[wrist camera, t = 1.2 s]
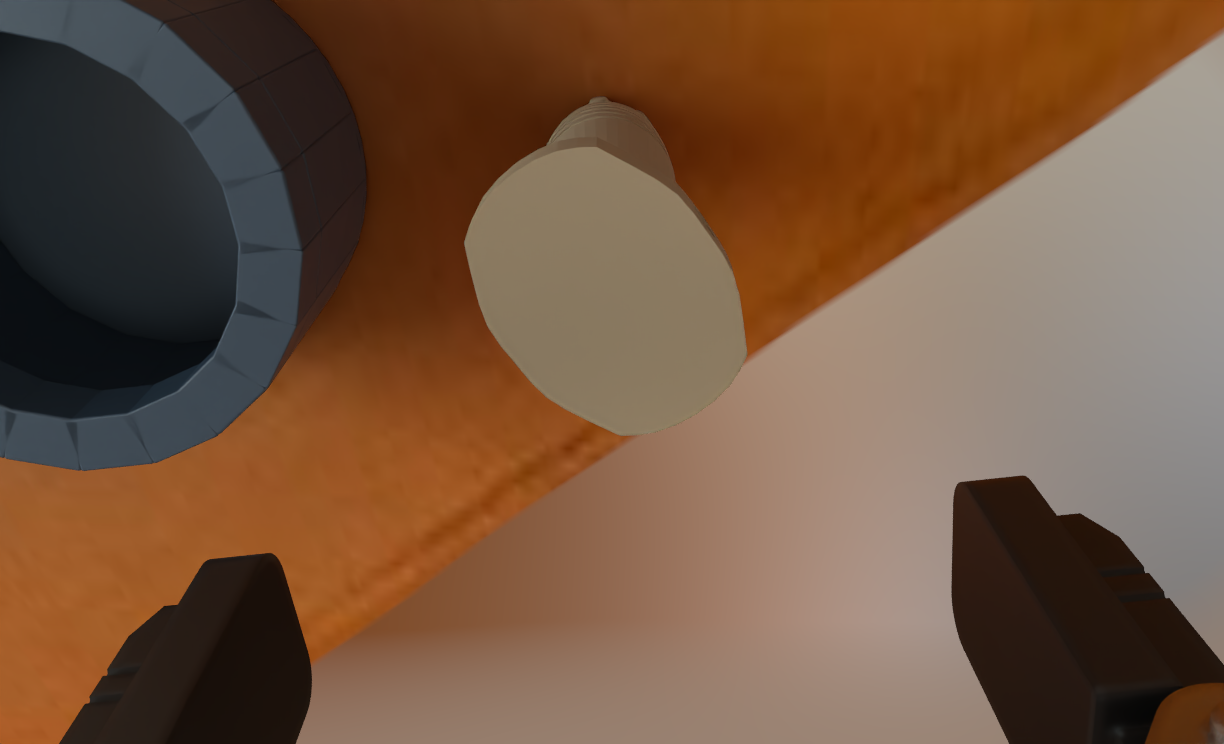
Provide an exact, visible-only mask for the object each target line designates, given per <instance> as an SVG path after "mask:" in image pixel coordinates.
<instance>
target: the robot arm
mask: <svg viewBox="0 0 1224 744" xmlns="http://www.w3.org/2000/svg"><path fill="white" fill-rule="evenodd" d="M952 546H953V547H952V606H953V613H954V618H955V624H956V628H957V632H958V635H959V639H960V641H961V644H962V646H963V649H964V651H965V653H966V655H967V657H968V659H969V661H970V663H971V665H972V667H973V670H974V671H975V674H976V676H977V678H978V680H979V681H980V684H981V686H982V688H983V690H984V692H985V694H986V696H987V698H988V701H989V702H990V704H991V706H992V709H993V711H994V713H995V715H996V717H997V719H998V721H999V723H1000V725H1001V727H1002V729H1003V732H1004V734H1005V736H1006V738H1007V740H1008V742H1009V744H1224V665H1223V663H1222V662H1221V661H1220V660H1219V659H1218V657H1217V656H1216V655H1215V654H1214V652H1213V651H1212V650H1211V649H1210V647H1209V646H1208V645H1207V644H1206V643H1205V641H1204V640H1203V639H1202V638H1201V636H1200V635H1199V634H1198V633H1197V631H1196V630H1195V629H1194V628H1193V627H1192V625H1191V624H1190V623H1189V622H1188V621H1187V619H1186V618H1185V617H1184V615H1182V613H1181V612H1180V611H1179V609H1178V608H1177V607H1176V606H1175V605H1174V603H1173V602H1172V601H1171V600H1170V598H1165V596H1164V591H1163V590H1162V589H1161V587H1160V586H1159V585H1158V584H1157V582H1156V581H1155V580H1154V579H1153V577H1152V576H1151V575H1150V574H1149V573H1145V571H1144V567H1143V565H1142V564H1141V563H1140V562H1139V560H1138V559H1137V558H1136V557H1135V556H1134V554H1133V553H1132V552H1131V551H1130V549H1129V548H1128V547H1127V546H1126V544H1125V543H1124V542H1123V541H1122V540H1121V538H1120V537H1119V536H1117V535H1115V534H1114V533H1111V532H1110V531H1108V530H1107V529H1105V528H1103V527H1102V526H1100V525H1099V524H1097V523H1095V522H1094V521H1092V520H1090V519H1088V518H1087V517H1085V516H1084V515H1082V514H1080V513H1079V514H1069V515H1061V516H1057V515H1056V514H1055V513H1054V511H1053V510H1052V509H1051V507H1050V506H1049V505H1048V503H1047V502H1046V500H1045V499H1044V498H1043V496H1042V495H1041V494H1040V492H1039V491H1038V490H1037V488H1036V487H1035V485H1034V484H1033V483H1032V482H1031V480H1030V479H1029V478H1027V477H1026V476H1014V477H1006V478H995V479H986V480H976V481H967V482H960V483H958V484H957V486H956V488H955V492H954V502H953V545H952ZM107 671H108V674H107V676H103V677H102V678H101V680H100V681H99V683H98V684H97V686H96V688H95V689H94V691H93V692H92V694H91V695H90V703H88V704H85V705H84V706H83V708H82V709H81V711H80V712H79V714H78V715H77V717H76V718H75V720H74V721H73V723H72V725H71V726H70V728H69V729H68V731H67V732H66V734H65V735H64V737H63V738H62V740H61V742H60V743H59V744H296V741H297V739H298V736H299V733H300V730H301V728H302V725H303V722H304V719H305V717H306V714H307V711H308V708H309V704H310V698H311V687H312V674H311V664H310V658H309V654H308V650H307V647H306V644H305V640H304V637H303V634H302V630H301V627H300V624H299V620H298V617H297V614H296V610H295V607H294V604H293V600H292V597H291V594H290V590H289V587H288V584H287V580H286V577H285V574H284V571H283V568H282V565H281V563H280V561H279V560H278V558H277V557H276V556H275V555H274V554H272V553H265V554H256V555H246V556H237V557H227V558H218V559H210V560H207V561H206V562H205V563H204V564H203V565H202V566H201V568H200V569H199V571H198V573H197V574H196V576H195V578H194V579H193V581H192V582H191V584H190V586H189V587H188V589H187V591H186V592H185V594H184V596H183V597H182V599H181V601H180V602H179V604H178V605H171V606H164V607H163V608H162V609H160V610H159V611H158V612H157V613H156V614H155V615H153V616H152V617H151V618H150V619H149V620H147V621H146V622H145V623H144V624H143V625H142V626H140V627H139V628H138V629H137V630H136V631H135V632H133V633H132V634H131V635H130V636H129V637H128V638H127V640H126V641H125V643H124V644H123V646H122V647H121V649H120V651H119V652H118V654H117V655H116V657H115V658H114V660H113V661H112V663H111V664H110V666H109V668H108V669H107Z"/></svg>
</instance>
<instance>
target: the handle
mask: <svg viewBox="0 0 1224 744" xmlns="http://www.w3.org/2000/svg"><path fill="white" fill-rule="evenodd" d="M464 246H465V250H466V254H467V258H468V263H469V267H470V271H471V276H472V280H473V284H474V287H475V291H476V295H477V299H478V302H479V306H480V308H481V311H482V314H483V316H484V319H485V321H486V324H487V326H488V328H489V329H490V331H491V332H492V334H493V335H494V337H495V338H496V340H497V341H498V343H499V344H500V346H501V347H502V348H503V349H504V351H505V352H506V353H507V354H508V355H509V357H510V358H511V359H512V360H513V361H514V363H515V364H516V365H517V366H518V367H519V369H520V370H521V371H522V372H523V373H524V375H525V376H526V377H527V378H528V379H529V381H530V382H531V383H532V384H533V385H534V386H535V387H536V388H537V389H538V390H539V391H541V392H542V393H543V394H544V395H545V396H546V397H547V398H548V399H550V400H552V401H553V402H555V403H556V404H558V405H559V406H561V407H562V408H564V409H566V410H568V411H570V412H572V413H574V414H576V415H578V416H580V417H582V418H584V419H586V420H588V421H590V422H592V423H594V424H596V425H598V426H601V427H603V428H605V429H607V430H609V431H611V432H613V433H616V434H618V435H620V436H627V435H642V434H648V433H654V432H658V431H661V430H664V429H667V428H670V427H672V426H675V425H677V424H679V423H681V422H683V421H685V420H687V419H689V418H690V417H692V416H694V415H696V414H698V413H699V412H700V411H702V410H703V409H704V408H706V407H707V406H708V405H710V404H711V403H712V402H714V401H715V400H716V399H717V398H718V397H719V396H720V395H721V394H722V393H723V392H724V391H725V390H726V389H727V388H728V387H729V386H730V385H731V383H732V382H733V380H734V379H735V377H736V376H737V374H738V372H739V371H740V369H741V367H742V365H743V363H744V361H745V358H746V356H747V348H746V340H745V332H744V324H743V317H742V310H741V303H740V297H739V292H738V289H737V285H736V282H735V278H734V275H733V270H732V266H731V264H730V261H729V258H728V256H727V254H726V252H725V250H724V248H723V246H722V245H721V243H720V241H719V240H718V238H717V237H716V235H715V234H714V232H713V231H712V229H711V228H710V226H709V225H708V223H707V222H706V220H705V219H704V217H703V216H702V215H701V213H700V212H699V210H698V209H697V208H696V206H695V205H694V204H693V202H692V201H691V200H690V198H689V197H688V196H687V194H686V193H685V192H684V191H683V190H682V189H681V187H680V186H679V185H678V184H677V183H676V181H675V175H674V170H673V167H672V163H671V160H670V157H669V154H668V152H667V149H666V147H665V145H664V143H663V141H662V140H661V138H660V136H659V134H658V133H657V131H656V129H655V128H654V127H653V126H652V124H651V122H650V120H649V119H648V118H647V117H646V116H645V114H644V113H642V112H641V111H639V110H634V109H633V108H631V107H628V106H626V105H623V104H619V103H616V102H611V101H609V100H608V99H607V97H605V96H600V97H595V98H592V99H591V100H590V102H589V104H588V105H585V106H583V107H580V108H579V109H577V110H575V111H574V112H572V113H571V114H570V115H569V116H567V117H566V118H565V119H563V121H562V122H561V123H560V124H559V126H558V127H557V128H556V129H555V131H554V133H553V134H552V136H551V138H550V139H549V141H548V143H547V145H546V146H545V147H542V148H540V149H537V150H536V151H534V152H533V153H531V154H529V155H528V156H526V157H524V158H523V159H521V160H520V161H518V162H516V163H515V164H514V165H513V166H512V167H511V168H510V169H508V170H507V171H506V172H505V173H504V174H503V175H502V176H500V177H499V178H498V179H497V180H496V182H495V183H494V184H493V185H492V187H491V188H490V189H489V190H488V191H487V193H486V194H485V195H484V196H483V198H482V200H481V202H480V204H479V206H478V208H477V210H476V212H475V214H474V216H473V218H472V221H471V223H470V226H469V229H468V232H467V235H466V238H465V241H464Z"/></svg>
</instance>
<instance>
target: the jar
mask: <svg viewBox="0 0 1224 744" xmlns="http://www.w3.org/2000/svg"><path fill="white" fill-rule="evenodd" d="M366 196H367V191H366V165H365V158H364V152H363V145H362V140H361V137H360V133H359V130H358V126H357V123H356V119H355V115H354V113H353V111H352V108H351V106H350V104H349V101H348V99H347V96H346V94H345V92H344V89H343V87H342V86H341V84H340V82H339V80H338V79H337V77H336V75H335V73H334V72H333V70H332V68H331V66H330V65H329V63H328V62H327V60H326V59H325V58H324V56H323V55H322V53H321V52H320V51H319V49H318V48H317V47H316V45H315V44H314V43H313V41H312V40H311V39H310V38H309V36H308V35H307V34H306V33H305V32H304V31H303V30H302V29H301V28H300V27H299V26H298V25H297V24H296V23H295V21H294V20H293V19H292V18H291V17H290V16H289V15H288V14H286V13H285V12H284V11H283V10H282V9H281V8H279V7H278V6H277V5H276V4H275V3H273V2H272V1H271V0H0V457H2V458H4V457H5V458H6V459H11V460H17V461H23V462H29V463H36V464H42V465H48V466H54V467H60V468H66V469H72V470H82V471H87V470H96V469H106V468H115V467H124V466H134V465H143V464H152V463H154V462H155V463H157V462H159V461H162V460H164V459H166V458H169V457H171V456H173V455H175V454H178V453H180V452H182V451H184V450H187V449H189V448H191V447H193V446H196V445H198V444H200V443H203V442H205V441H207V440H209V439H212V438H214V437H216V436H218V434H220V433H222V432H223V431H224V430H225V429H226V428H227V427H228V426H229V425H230V424H231V423H232V422H233V421H234V420H235V419H236V418H237V417H239V416H240V415H241V414H242V413H243V412H244V411H245V410H246V409H247V408H248V407H249V406H250V405H251V404H252V403H253V402H254V401H255V400H256V399H257V398H258V397H260V396H261V395H262V394H263V393H264V392H265V391H266V390H267V388H268V387H269V386H270V384H271V383H272V382H273V380H274V379H275V377H276V376H277V374H278V373H279V371H280V370H281V369H282V367H283V366H284V364H285V363H286V361H287V360H288V358H289V357H290V355H291V354H292V352H293V351H294V350H295V348H296V347H297V345H298V344H299V342H300V341H301V339H302V338H303V337H304V335H305V334H306V332H307V331H308V329H309V328H310V326H311V325H312V323H313V322H314V321H315V319H316V318H317V316H318V315H319V313H320V312H321V310H322V309H323V308H324V306H325V305H326V303H327V302H328V300H329V299H330V297H331V296H332V294H333V293H334V292H335V290H336V288H337V286H338V284H339V281H340V279H341V277H342V275H343V273H344V272H345V270H346V268H347V267H348V265H349V262H350V260H351V258H352V255H353V253H354V251H355V248H356V246H357V244H358V239H359V238H360V232H361V228H362V224H363V221H364V213H365V204H366Z"/></svg>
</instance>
